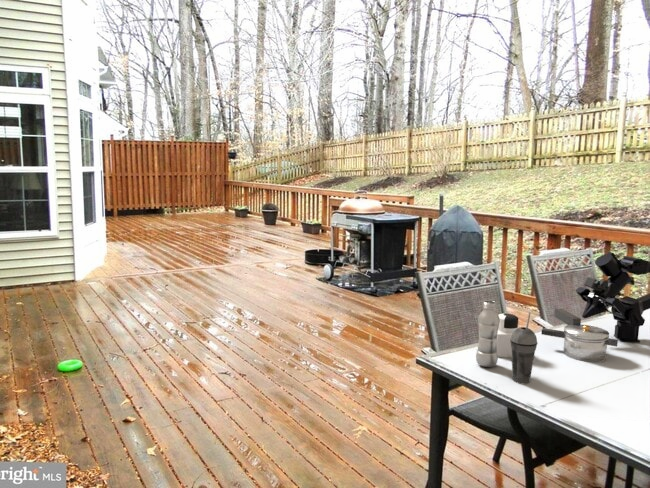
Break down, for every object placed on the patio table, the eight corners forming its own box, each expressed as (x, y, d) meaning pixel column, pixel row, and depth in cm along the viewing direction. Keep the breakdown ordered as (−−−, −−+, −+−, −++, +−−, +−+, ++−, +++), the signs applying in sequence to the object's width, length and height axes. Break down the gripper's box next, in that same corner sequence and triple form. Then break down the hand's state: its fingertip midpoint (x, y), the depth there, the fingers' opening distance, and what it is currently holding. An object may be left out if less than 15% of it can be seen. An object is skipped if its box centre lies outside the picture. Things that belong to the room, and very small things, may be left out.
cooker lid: (617, 340, 160) (618, 330, 160) (576, 340, 160) (577, 330, 159) (575, 317, 186) (576, 308, 185) (540, 317, 185) (540, 308, 185)
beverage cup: (503, 375, 150) (507, 309, 147) (527, 375, 151) (531, 308, 148) (514, 386, 143) (519, 316, 140) (539, 385, 144) (544, 316, 141)
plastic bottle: (497, 363, 160) (501, 300, 157) (497, 371, 153) (501, 306, 151) (475, 360, 162) (479, 298, 159) (474, 368, 156) (478, 304, 153)
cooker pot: (617, 354, 168) (619, 334, 167) (614, 367, 157) (616, 345, 156) (544, 341, 180) (546, 322, 179) (537, 352, 169) (538, 332, 168)
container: (514, 349, 172) (516, 312, 170) (520, 358, 164) (523, 318, 162) (490, 348, 173) (492, 311, 171) (496, 357, 165) (498, 318, 163)
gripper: (582, 264, 186) (552, 295, 185) (621, 275, 168) (589, 309, 167) (599, 285, 189) (570, 315, 188) (639, 297, 171) (608, 331, 170)
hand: (583, 317), depth 178 cm, fingers closed
